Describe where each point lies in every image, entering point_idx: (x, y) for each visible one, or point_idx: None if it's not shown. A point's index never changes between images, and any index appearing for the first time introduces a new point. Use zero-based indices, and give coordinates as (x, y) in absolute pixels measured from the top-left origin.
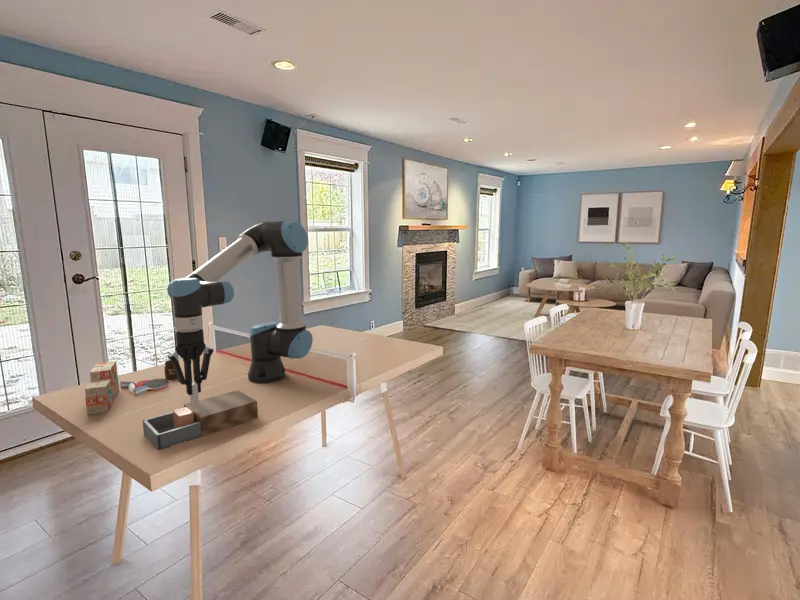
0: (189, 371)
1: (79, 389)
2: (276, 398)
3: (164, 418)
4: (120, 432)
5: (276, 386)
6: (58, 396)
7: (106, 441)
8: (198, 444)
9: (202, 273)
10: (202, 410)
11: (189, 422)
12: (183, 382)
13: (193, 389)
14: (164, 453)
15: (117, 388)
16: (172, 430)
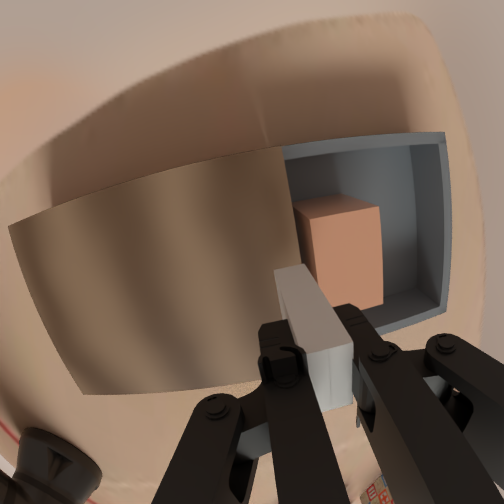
0: (447, 460)
1: None
2: (12, 337)
3: (382, 317)
4: (448, 328)
5: (28, 406)
6: None
7: (478, 288)
8: (292, 88)
9: None
10: (253, 245)
11: (318, 206)
12: (453, 343)
13: (332, 317)
14: (397, 99)
15: (368, 498)
16: (399, 137)
